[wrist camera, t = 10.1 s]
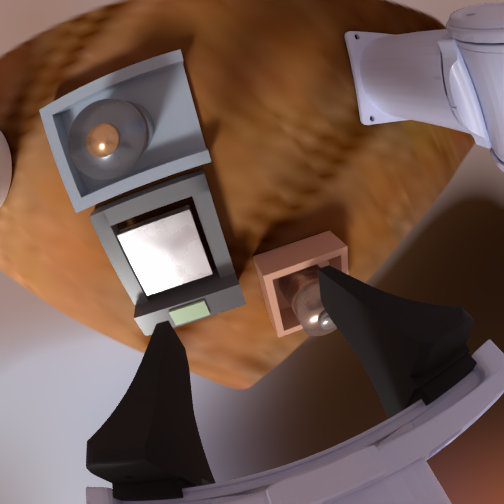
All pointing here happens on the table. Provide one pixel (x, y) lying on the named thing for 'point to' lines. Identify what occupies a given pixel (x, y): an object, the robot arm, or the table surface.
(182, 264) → the pad
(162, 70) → the trough
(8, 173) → the pill bottle
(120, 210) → the digital scale
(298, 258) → the pink square tube
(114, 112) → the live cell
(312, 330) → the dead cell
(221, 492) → the robot arm
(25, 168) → the table surface
